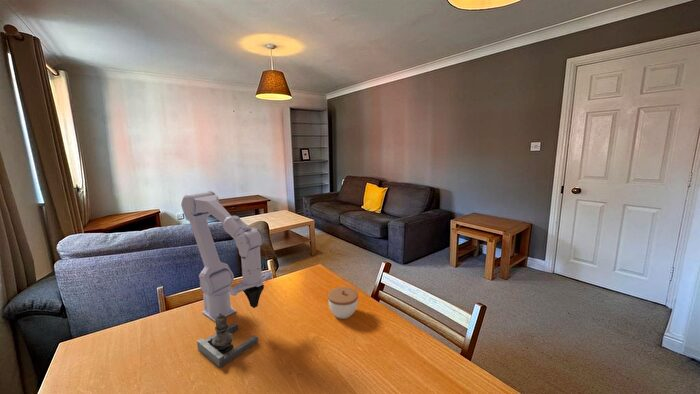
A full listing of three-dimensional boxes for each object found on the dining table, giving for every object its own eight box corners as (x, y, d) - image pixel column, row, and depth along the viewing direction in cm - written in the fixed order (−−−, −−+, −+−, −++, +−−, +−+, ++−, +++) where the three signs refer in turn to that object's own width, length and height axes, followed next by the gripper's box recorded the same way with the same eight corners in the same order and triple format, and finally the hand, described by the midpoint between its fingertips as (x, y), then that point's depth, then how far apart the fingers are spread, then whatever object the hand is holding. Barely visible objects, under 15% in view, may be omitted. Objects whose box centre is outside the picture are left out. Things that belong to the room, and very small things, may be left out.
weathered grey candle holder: (226, 358, 82) (222, 320, 80) (208, 354, 83) (204, 318, 81) (238, 344, 88) (235, 308, 85) (221, 341, 89) (217, 306, 86)
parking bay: (197, 349, 85) (196, 340, 85) (235, 327, 95) (235, 319, 95) (219, 368, 78) (218, 358, 78) (258, 342, 88) (257, 334, 88)
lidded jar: (358, 306, 108) (359, 283, 106) (356, 324, 97) (356, 299, 95) (330, 304, 109) (330, 281, 107) (325, 322, 98) (325, 297, 97)
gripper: (238, 279, 82) (241, 322, 85) (278, 262, 94) (279, 300, 96) (224, 273, 86) (228, 313, 89) (264, 257, 98) (266, 293, 100)
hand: (254, 306), depth 93 cm, fingers closed
